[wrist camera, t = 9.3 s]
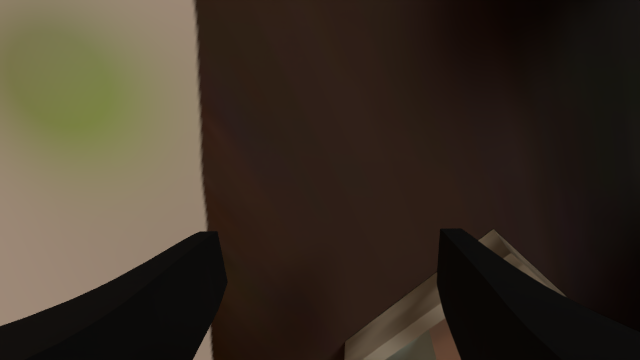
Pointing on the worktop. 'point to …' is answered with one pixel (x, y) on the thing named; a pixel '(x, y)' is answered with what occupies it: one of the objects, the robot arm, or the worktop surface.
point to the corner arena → (422, 315)
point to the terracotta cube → (443, 342)
